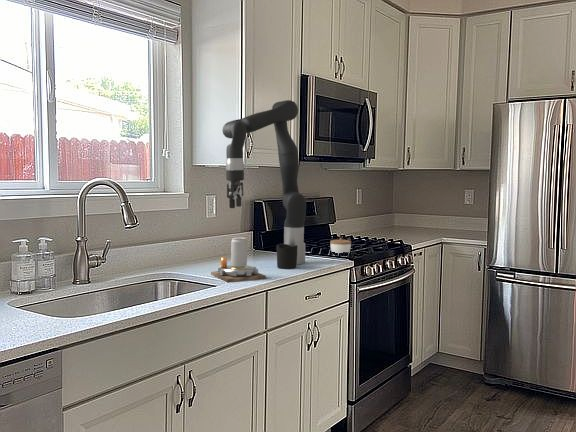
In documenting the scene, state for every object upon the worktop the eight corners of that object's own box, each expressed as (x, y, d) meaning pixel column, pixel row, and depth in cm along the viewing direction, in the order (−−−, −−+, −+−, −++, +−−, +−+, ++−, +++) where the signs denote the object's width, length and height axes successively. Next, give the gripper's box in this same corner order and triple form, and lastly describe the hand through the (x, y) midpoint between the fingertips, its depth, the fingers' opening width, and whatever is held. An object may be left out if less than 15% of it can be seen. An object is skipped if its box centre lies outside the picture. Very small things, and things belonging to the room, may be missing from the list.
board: (248, 271, 237) (248, 268, 237) (266, 278, 222) (266, 275, 222) (210, 274, 229) (210, 271, 228) (226, 282, 214) (226, 279, 214)
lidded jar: (326, 254, 286) (326, 237, 285) (343, 253, 291) (343, 236, 290) (337, 258, 277) (337, 239, 276) (354, 256, 282) (355, 238, 281)
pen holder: (293, 265, 254) (293, 243, 253) (300, 268, 245) (300, 246, 244) (273, 266, 251) (274, 244, 250) (279, 269, 242) (280, 247, 241)
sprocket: (223, 268, 234) (223, 254, 234) (261, 270, 232) (261, 256, 232) (213, 275, 218) (213, 260, 218) (253, 277, 216) (253, 262, 216)
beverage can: (233, 268, 221) (233, 238, 220) (229, 266, 227) (229, 237, 226) (248, 268, 223) (248, 238, 222) (244, 265, 229) (244, 236, 228)
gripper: (232, 169, 241) (232, 206, 242) (220, 169, 227) (221, 208, 229) (248, 168, 239) (249, 206, 241) (237, 169, 225) (238, 208, 227)
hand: (235, 207), depth 235 cm, fingers open, 8 cm apart
